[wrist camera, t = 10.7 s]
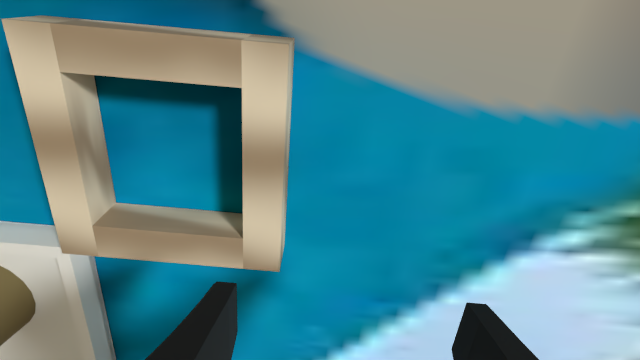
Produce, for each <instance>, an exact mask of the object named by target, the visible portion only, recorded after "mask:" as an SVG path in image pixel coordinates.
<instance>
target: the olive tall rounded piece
mask: <svg viewBox="0 0 640 360" xmlns="http://www.w3.org/2000/svg"><path fill="white" fill-rule="evenodd" d="M35 306H36V303H35V300H34V297H33V295H32V292H31V291H30V289H29V288H28V287H27V285H26V284H25V283H24V282H23V281H22V280H21V279H20V278H19V277H17V276H16V275H15V274H14V273H12V272H11V271H9V270H8V269H6V268H4V267H2V266H0V346H1V345H2V344H3V343H5V342H6V341H7V340H8V339H9V338H11V337H12V336H13V335H14V334H15V333H16V332H18V331H19V330H20V329H21V328H22V327H24V326H25V325H26V324H27V323H28V322H30V320H31V319H32V317H33V316H34V314H35Z"/></svg>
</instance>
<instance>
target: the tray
mask: <svg viewBox="0 0 640 360" xmlns="http://www.w3.org/2000/svg"><path fill="white" fill-rule="evenodd" d="M0 266H2V267H4V268H6V269H8V270H9V271H11V272H12V273H14V274H15V275H16V276H17V277H19V278H20V279H21V280H22V281H23V282H24V283H25V284H26V285H27V287H28V288H29V289H30V291H31V292H32V295H33V297H34V300H35V303H36V306H35V314H34V316H33V317H32V319H31V320H30V322H28V323H27V324H26V325H25V326H24V327H22V328H21V329H20V330H19V331H18V332H16V333H15V334H14V335H13V336H12V337H11V338H9V339H8V340H7V341H6V342H5V343H3V344H2V345H1V346H0V360H116V355H115V351H114V346H113V341H112V337H111V332H110V328H109V323H108V318H107V314H106V309H105V304H104V300H103V295H102V291H101V286H100V281H99V277H98V272H97V267H96V263H95V258H94V256H87V255H76V254H64V253H62V250H61V246H60V243H59V239H58V235H57V231H56V227H55V226H53V225H41V224H29V223H18V222H6V221H0Z"/></svg>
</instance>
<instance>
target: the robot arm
mask: <svg viewBox="0 0 640 360" xmlns="http://www.w3.org/2000/svg"><path fill="white" fill-rule="evenodd" d="M236 335H237V283H227V282H216V283H215V284H213V286H212V287H211V288H210V289H209V291H208V292H207V293H206V294H205V296H204V297H203V298H202V299H201V301H200V302H199V303H198V304H197V305H196V307H195V308H194V309H193V310H192V311H191V312H190V314H189V315H188V316H187V317H186V318H185V319H184V320H183V321H182V322H181V323H180V325H179V326H178V327H177V328H176V329H175V330H174V331H173V332H172V333H171V334H170V335H169V336H168V337H167V338H166V339H165V340H164V341H163V342H162V343H161V344H160V345H159V346H158V347H157V348H156V349H155V350H154V351H153V352H152V353H151V354H150V355H149V356H148V357H147V358H146V359H145V360H231V358H232V353H233V349H234V345H235V340H236ZM452 353H453V359H454V360H539V359H538V358H537V357H536V356H535V355H534V354H533V353H532V352H531V351H530V350H529V349H528V348H527V347H526V346H525V345H524V344H523V343H522V342H521V341H520V340H519V338H518V337H517V336H516V335H515V334H514V333H513V332H512V331H511V330H510V329H509V328H508V327H507V326H506V325H505V324H504V322H503V321H502V320H501V319H500V318H499V317H498V316H497V315H496V314H495V313H494V312H493V311H492V310H491V309H490V308H489V307H488V306H487V305H486V304H476V303H466V307H465V310H464V313H463V316H462V319H461V322H460V325H459V328H458V331H457V334H456V337H455V340H454V343H453V347H452Z"/></svg>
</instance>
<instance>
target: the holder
mask: <svg viewBox="0 0 640 360" xmlns="http://www.w3.org/2000/svg"><path fill="white" fill-rule="evenodd" d="M2 23H3V27H4V31H5V34H6V38H7V42H8V46H9V50H10V54H11V58H12V61H13V65H14V69H15V73H16V77H17V81H18V85H19V88H20V92H21V96H22V100H23V104H24V108H25V112H26V115H27V119H28V123H29V127H30V131H31V135H32V139H33V142H34V146H35V150H36V154H37V158H38V162H39V166H40V169H41V173H42V177H43V181H44V185H45V189H46V193H47V196H48V200H49V204H50V208H51V212H52V216H53V219H54V223H55V227H56V231H57V235H58V239H59V243H60V246H61V250H62V253H64V254H76V255H87V256H99V257H111V258H123V259H135V260H147V261H158V262H170V263H182V264H194V265H206V266H218V267H229V268H241V269H253V270H265V271H277V272H279V270H280V265H281V260H282V255H283V250H284V243H285V222H286V202H287V181H288V161H289V140H290V120H291V99H292V79H293V58H294V38H288V37H277V36H266V35H255V34H243V33H232V32H221V31H210V30H198V29H187V28H176V27H165V26H153V25H142V24H131V23H120V22H108V21H97V20H86V19H75V18H63V17H52V16H31V17H19V18H7V19H2ZM94 75H99V76H110V77H122V78H133V79H144V80H156V81H167V82H178V83H190V84H201V85H213V86H224V87H235V88H242V181H243V214H242V213H230V212H218V211H207V210H195V209H183V208H172V207H160V206H148V205H136V204H125V203H116V200H115V194H114V188H113V183H112V177H111V171H110V165H109V159H108V154H107V148H106V142H105V136H104V130H103V125H102V119H101V113H100V107H99V101H98V96H97V90H96V84H95V78H94Z"/></svg>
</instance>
